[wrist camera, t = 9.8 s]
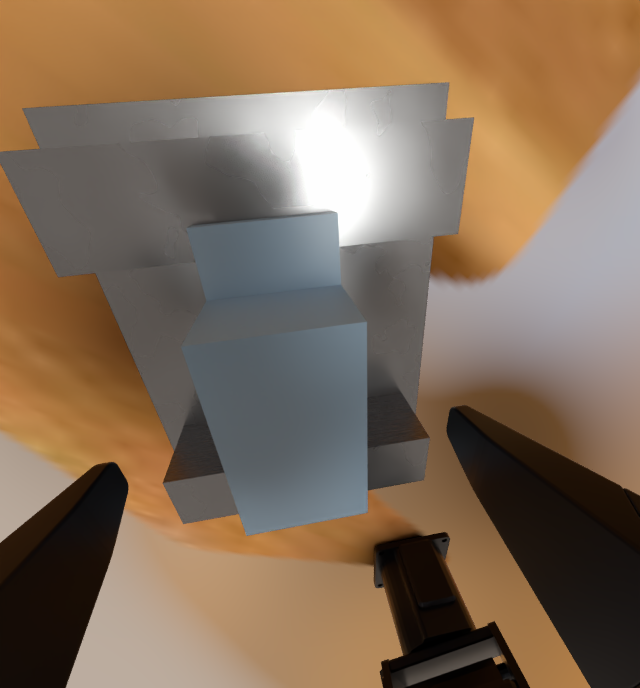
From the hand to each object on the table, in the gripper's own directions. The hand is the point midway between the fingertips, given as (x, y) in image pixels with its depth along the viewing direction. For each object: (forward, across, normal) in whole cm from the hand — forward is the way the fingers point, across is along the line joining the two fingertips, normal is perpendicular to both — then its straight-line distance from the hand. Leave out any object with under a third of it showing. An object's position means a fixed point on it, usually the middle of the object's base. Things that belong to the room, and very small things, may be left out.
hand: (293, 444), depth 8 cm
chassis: (+8, 0, 0) cm, 8 cm away
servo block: (+7, 0, 0) cm, 7 cm away
